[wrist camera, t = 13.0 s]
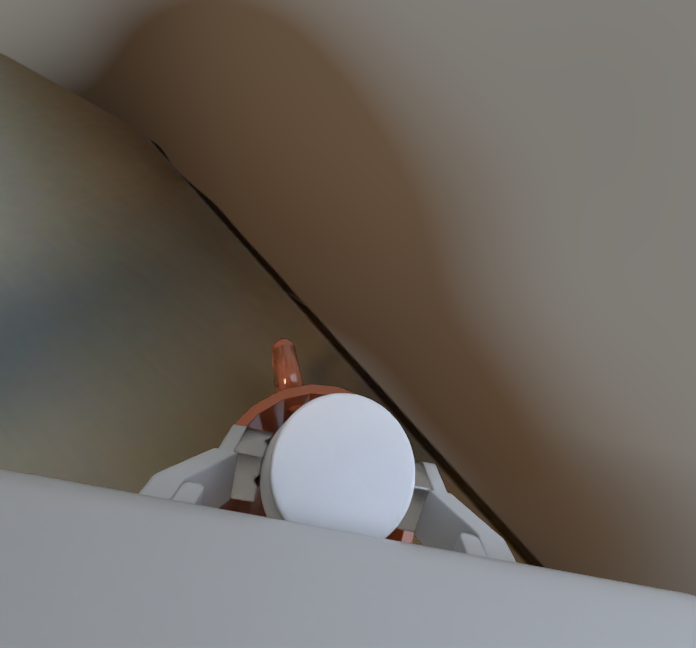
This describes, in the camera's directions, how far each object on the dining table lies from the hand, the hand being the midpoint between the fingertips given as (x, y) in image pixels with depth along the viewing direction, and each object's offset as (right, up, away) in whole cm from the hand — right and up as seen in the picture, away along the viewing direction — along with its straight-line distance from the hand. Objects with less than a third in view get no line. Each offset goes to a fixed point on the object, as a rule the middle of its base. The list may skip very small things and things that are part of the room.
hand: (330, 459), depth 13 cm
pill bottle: (-1, -3, +4) cm, 5 cm away
